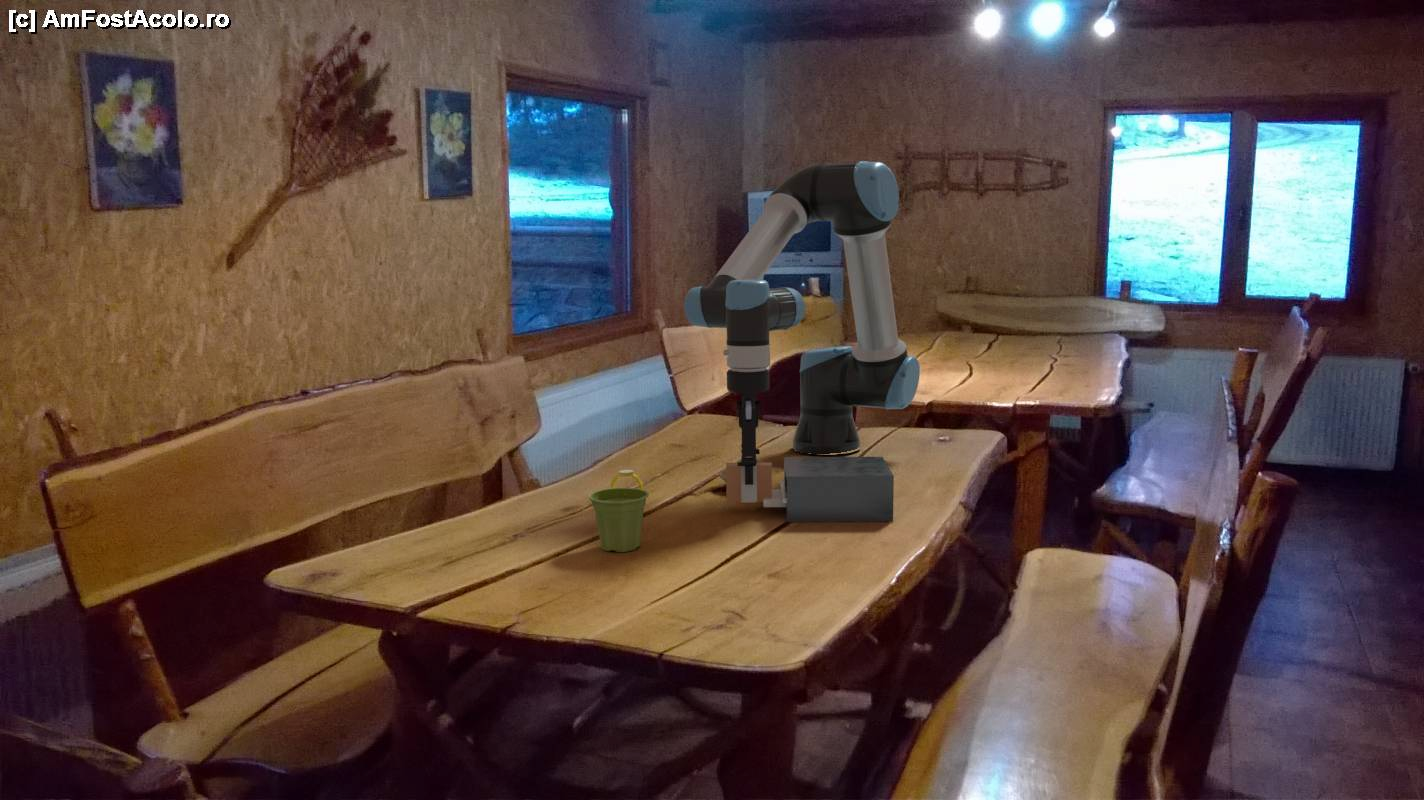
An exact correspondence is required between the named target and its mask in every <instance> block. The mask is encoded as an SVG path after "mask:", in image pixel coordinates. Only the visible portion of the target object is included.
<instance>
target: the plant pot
mask: <svg viewBox="0 0 1424 800" xmlns="http://www.w3.org/2000/svg"><path fill="white" fill-rule="evenodd" d="M648 498H649V491H646V490H642V489H640V488H636V487H615V488H611V487H610V488H604V489H600V490H599V489H598V490H596V491H592V492H591V493H590V494H588V499H589V501H590V502H591V505H592V508H593V509H594V513H595V519H596V523H597V524H596V526H597V531H598V536H599V542H600V547H601V549H602V550H604V551H605V552H611V551H614V552H617V553H625V552H632V551H635V550H636V549H637V548H639V547H640V546H641V538H642V525H643V518H644V507H645V506H646V502H647V499H648Z"/></svg>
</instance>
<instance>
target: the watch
mask: <svg viewBox="0 0 1424 800" xmlns="http://www.w3.org/2000/svg"><path fill="white" fill-rule="evenodd" d="M619 477H632V478H633V479H635V481H636V482H637V484H638V487H639V488H638V489H642V490H644V483H643V480H642V479H641V477H640V476H639V475H638V474H637V473H635V471H634V470H633V469H622V470H619V471H618V474H617V475H615V476H614V477H613V479H612V480H611V483H610V488H616V481H617V480H618V478H619Z"/></svg>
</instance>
